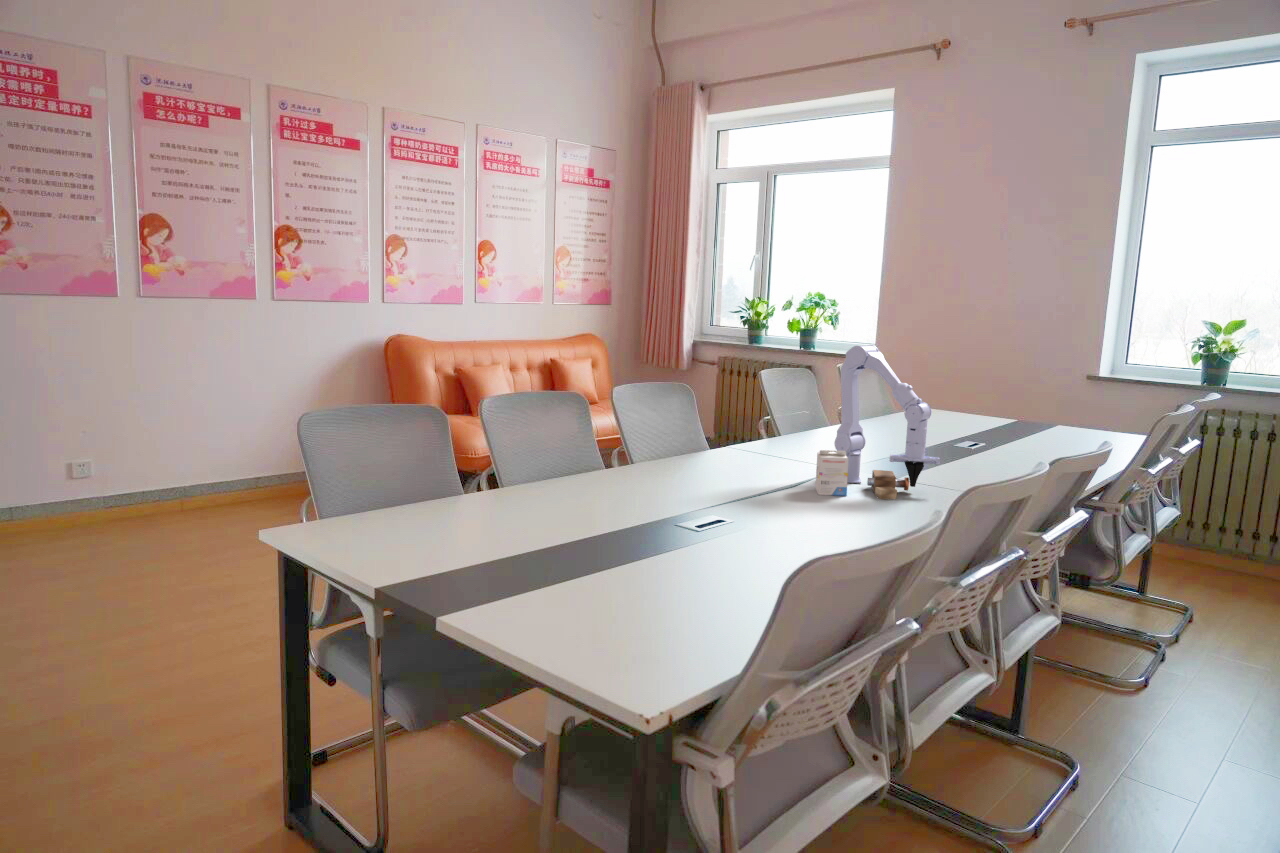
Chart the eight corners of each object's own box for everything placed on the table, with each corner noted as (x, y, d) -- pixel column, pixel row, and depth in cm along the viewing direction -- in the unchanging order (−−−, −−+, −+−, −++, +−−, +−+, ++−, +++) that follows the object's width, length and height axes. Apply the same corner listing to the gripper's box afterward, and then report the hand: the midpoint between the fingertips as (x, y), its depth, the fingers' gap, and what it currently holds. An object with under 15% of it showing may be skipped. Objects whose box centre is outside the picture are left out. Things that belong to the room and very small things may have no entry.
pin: (867, 489, 263) (868, 476, 262) (866, 486, 267) (867, 473, 266) (908, 491, 261) (909, 479, 260) (906, 489, 265) (907, 476, 264)
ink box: (843, 490, 264) (845, 447, 262) (846, 496, 256) (849, 452, 253) (814, 488, 265) (817, 446, 262) (817, 495, 256) (820, 451, 254)
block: (880, 499, 253) (880, 490, 253) (874, 496, 257) (875, 486, 256) (896, 499, 254) (896, 489, 253) (890, 496, 258) (891, 486, 257)
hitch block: (874, 493, 260) (875, 476, 259) (871, 486, 269) (872, 469, 269) (894, 495, 259) (895, 477, 258) (891, 487, 268) (892, 471, 267)
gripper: (892, 443, 257) (889, 487, 260) (942, 446, 255) (939, 490, 257) (890, 439, 264) (887, 482, 266) (939, 442, 262) (935, 485, 264)
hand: (912, 486), depth 262 cm, fingers closed
